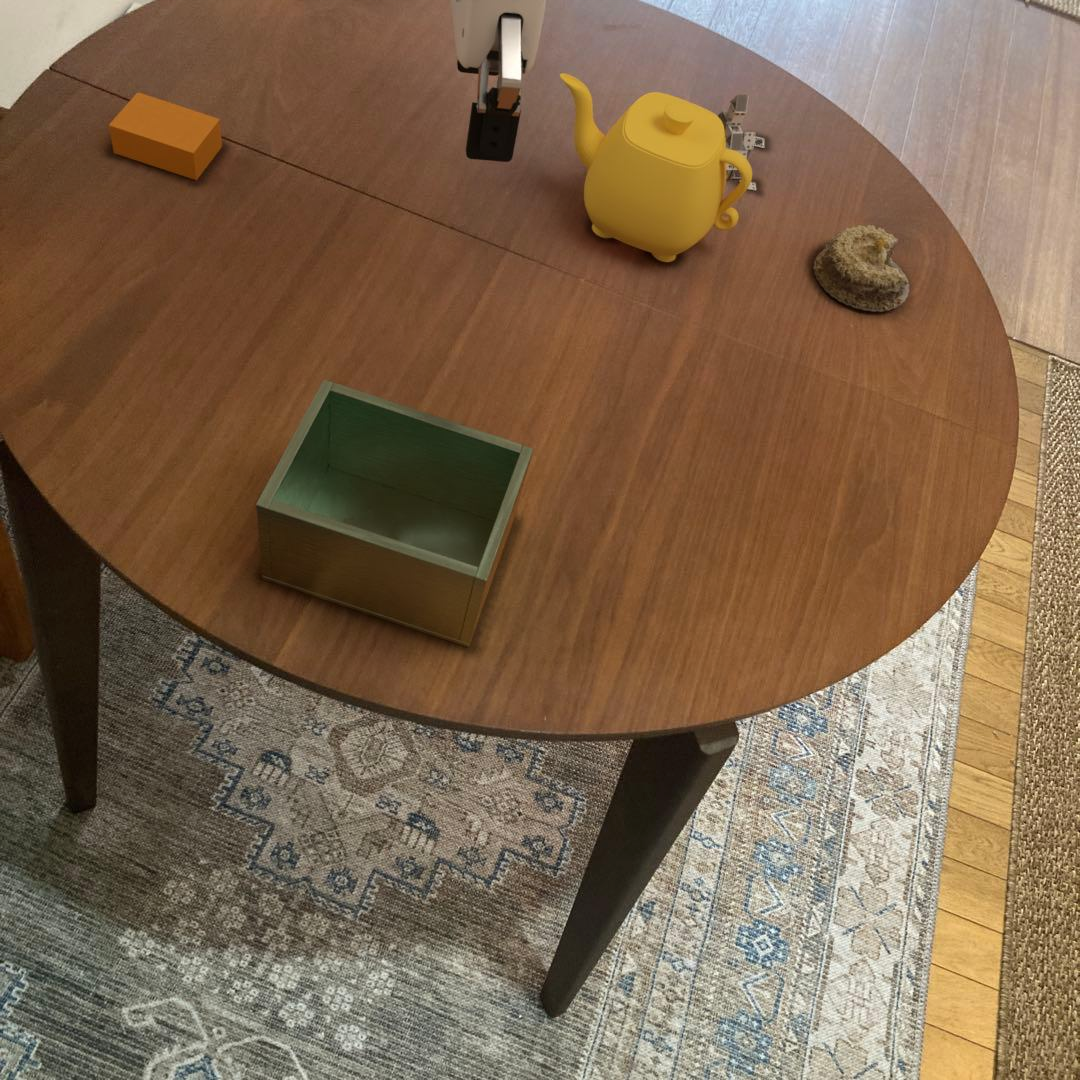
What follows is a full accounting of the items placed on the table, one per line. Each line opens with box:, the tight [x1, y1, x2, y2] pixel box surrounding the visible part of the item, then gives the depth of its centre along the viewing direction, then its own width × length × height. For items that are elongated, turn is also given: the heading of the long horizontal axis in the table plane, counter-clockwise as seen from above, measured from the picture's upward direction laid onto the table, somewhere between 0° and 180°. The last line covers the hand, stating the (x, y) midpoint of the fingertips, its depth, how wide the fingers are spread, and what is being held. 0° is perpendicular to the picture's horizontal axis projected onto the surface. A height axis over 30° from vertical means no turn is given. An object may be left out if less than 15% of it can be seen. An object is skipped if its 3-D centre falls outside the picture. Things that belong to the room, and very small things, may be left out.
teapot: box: [559, 72, 753, 263], centre depth 98 cm, size 14×20×13 cm
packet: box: [108, 91, 223, 181], centre depth 95 cm, size 8×6×3 cm
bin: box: [255, 378, 534, 648], centre depth 74 cm, size 16×12×10 cm
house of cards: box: [717, 93, 765, 191], centre depth 108 cm, size 9×9×8 cm
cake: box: [812, 224, 911, 313], centre depth 102 cm, size 10×10×5 cm
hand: (483, 113), depth 74 cm, fingers open, 9 cm apart
